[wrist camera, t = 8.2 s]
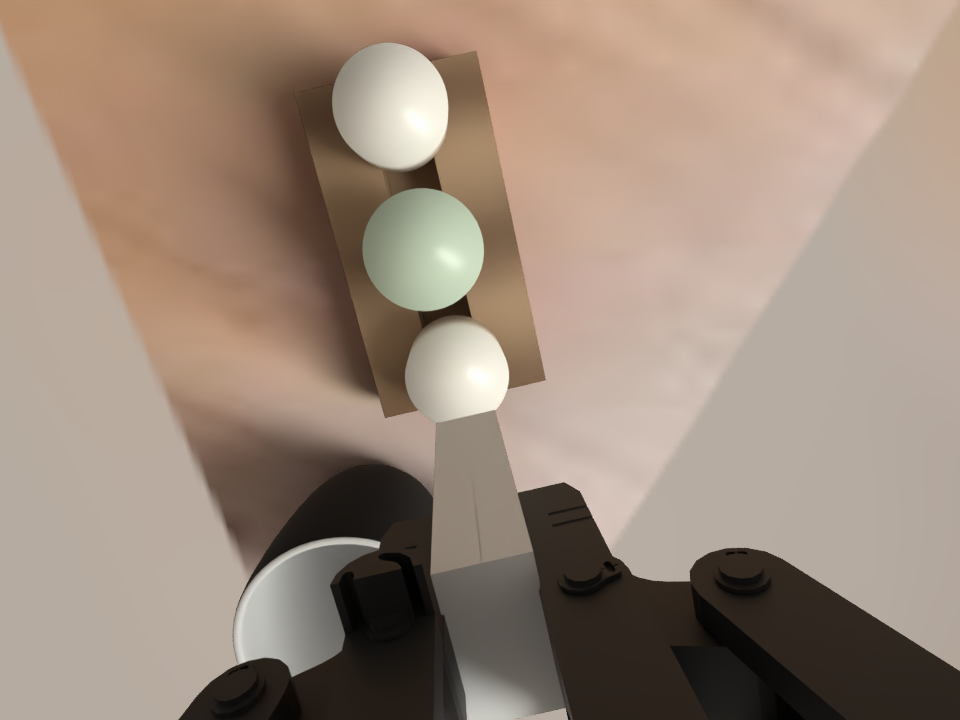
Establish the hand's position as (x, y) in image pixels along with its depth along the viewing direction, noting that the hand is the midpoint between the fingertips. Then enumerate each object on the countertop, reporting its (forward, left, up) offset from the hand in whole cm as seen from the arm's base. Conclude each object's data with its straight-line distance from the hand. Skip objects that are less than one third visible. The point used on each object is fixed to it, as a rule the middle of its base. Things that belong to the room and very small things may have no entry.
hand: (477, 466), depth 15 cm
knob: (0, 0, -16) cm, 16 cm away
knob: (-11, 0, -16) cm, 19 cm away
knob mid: (-5, 0, -14) cm, 14 cm away
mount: (-5, 0, -17) cm, 18 cm away
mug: (+9, -5, -17) cm, 20 cm away
